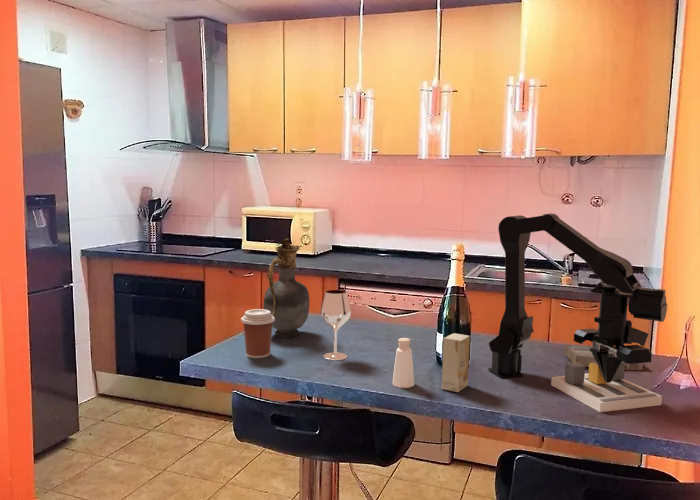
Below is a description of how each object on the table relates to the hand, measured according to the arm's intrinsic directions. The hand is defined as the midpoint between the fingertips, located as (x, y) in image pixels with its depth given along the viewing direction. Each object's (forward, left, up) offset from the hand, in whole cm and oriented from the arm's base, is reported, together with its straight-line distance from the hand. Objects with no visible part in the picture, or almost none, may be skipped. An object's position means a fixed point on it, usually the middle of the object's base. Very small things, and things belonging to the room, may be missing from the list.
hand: (608, 382), depth 135 cm
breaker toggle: (0, +3, -1) cm, 3 cm away
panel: (0, +1, -3) cm, 4 cm away
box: (+16, +22, -4) cm, 27 cm away
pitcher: (-61, +69, -4) cm, 92 cm away
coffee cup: (-72, +51, -4) cm, 88 cm away
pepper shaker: (-42, +19, -4) cm, 46 cm away
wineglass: (-52, +44, -4) cm, 68 cm away
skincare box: (-31, +14, -4) cm, 34 cm away
